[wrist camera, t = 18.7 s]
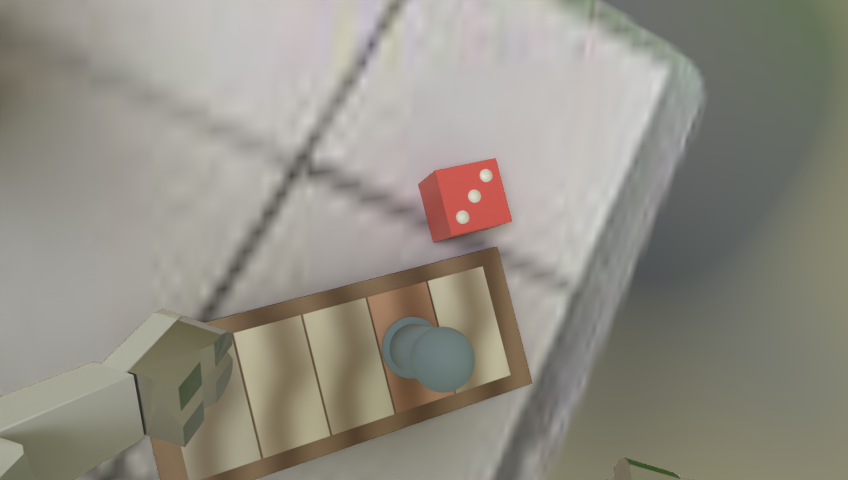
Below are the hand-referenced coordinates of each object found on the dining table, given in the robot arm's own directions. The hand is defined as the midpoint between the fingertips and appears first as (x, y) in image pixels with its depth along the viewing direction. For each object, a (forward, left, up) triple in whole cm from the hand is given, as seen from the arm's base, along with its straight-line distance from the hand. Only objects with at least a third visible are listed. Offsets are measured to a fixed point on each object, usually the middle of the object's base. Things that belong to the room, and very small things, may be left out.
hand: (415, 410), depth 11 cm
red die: (+16, +7, -39) cm, 43 cm away
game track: (+2, -5, -39) cm, 39 cm away
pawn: (+8, -5, -38) cm, 39 cm away
